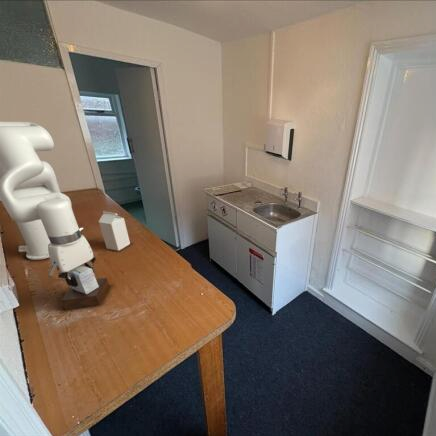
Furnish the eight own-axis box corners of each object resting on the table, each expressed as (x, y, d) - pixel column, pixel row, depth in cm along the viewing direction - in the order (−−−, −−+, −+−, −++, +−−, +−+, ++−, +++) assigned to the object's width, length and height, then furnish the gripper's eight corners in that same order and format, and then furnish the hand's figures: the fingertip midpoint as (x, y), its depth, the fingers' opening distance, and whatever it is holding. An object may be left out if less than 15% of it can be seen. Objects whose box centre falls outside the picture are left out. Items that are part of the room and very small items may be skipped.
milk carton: (118, 251, 114) (109, 216, 106) (106, 248, 115) (95, 214, 107) (130, 244, 121) (122, 210, 113) (118, 241, 122) (109, 208, 114)
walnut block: (65, 310, 81) (60, 300, 79) (78, 290, 89) (75, 281, 88) (99, 305, 84) (96, 295, 82) (109, 286, 92) (106, 277, 91)
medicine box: (99, 287, 86) (92, 268, 82) (86, 295, 82) (78, 275, 78) (84, 281, 88) (77, 262, 84) (70, 289, 84) (62, 269, 80)
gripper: (85, 224, 84) (98, 265, 92) (23, 246, 69) (46, 293, 77) (100, 228, 82) (113, 269, 90) (41, 252, 67) (62, 299, 75)
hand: (82, 280), depth 83 cm, fingers open, 5 cm apart
